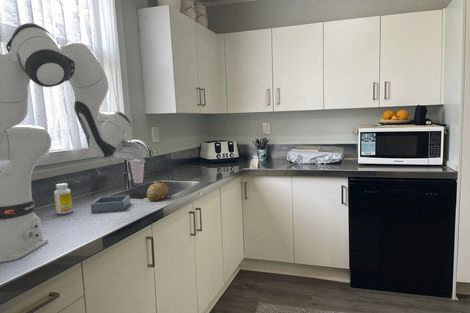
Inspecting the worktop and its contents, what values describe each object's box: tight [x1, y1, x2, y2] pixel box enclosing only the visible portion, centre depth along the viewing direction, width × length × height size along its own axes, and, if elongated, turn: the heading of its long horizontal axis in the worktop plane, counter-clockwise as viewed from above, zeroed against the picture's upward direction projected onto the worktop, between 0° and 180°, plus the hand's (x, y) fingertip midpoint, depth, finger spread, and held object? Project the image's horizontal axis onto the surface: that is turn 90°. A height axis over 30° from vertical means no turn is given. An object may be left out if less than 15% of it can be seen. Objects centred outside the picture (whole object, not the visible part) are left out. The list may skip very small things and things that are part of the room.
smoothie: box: [128, 159, 145, 184], centre depth 151 cm, size 6×6×14 cm
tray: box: [90, 194, 131, 214], centre depth 159 cm, size 14×14×4 cm
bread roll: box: [146, 182, 169, 202], centre depth 175 cm, size 10×15×8 cm, turn 172°
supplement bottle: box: [53, 182, 74, 215], centre depth 155 cm, size 7×7×13 cm
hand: (138, 162), depth 151 cm, fingers closed on smoothie, 6 cm apart
